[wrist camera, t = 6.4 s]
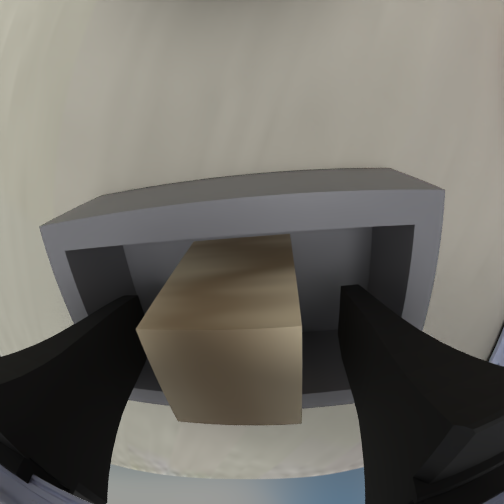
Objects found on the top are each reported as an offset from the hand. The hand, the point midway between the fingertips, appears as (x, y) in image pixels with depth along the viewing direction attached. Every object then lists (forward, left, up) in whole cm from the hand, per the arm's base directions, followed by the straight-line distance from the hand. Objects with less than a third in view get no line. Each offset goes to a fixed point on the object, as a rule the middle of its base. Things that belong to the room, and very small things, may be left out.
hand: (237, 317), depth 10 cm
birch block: (0, 0, -3) cm, 3 cm away
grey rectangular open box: (0, 0, -4) cm, 4 cm away
